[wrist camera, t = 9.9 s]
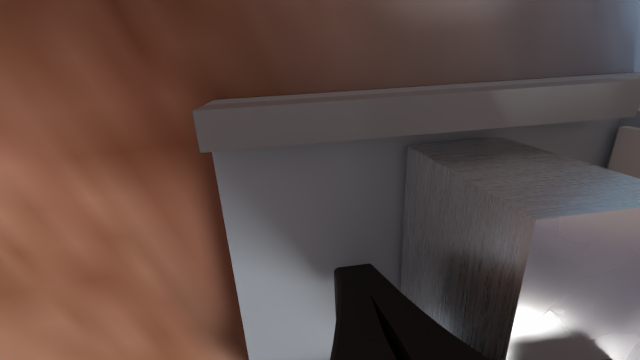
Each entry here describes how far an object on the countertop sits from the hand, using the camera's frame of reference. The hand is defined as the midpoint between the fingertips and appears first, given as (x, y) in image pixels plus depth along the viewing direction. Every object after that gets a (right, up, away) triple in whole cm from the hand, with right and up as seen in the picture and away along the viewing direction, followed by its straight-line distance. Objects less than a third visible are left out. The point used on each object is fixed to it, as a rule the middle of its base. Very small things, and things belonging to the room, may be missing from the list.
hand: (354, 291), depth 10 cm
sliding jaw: (+3, +1, +1) cm, 3 cm away
